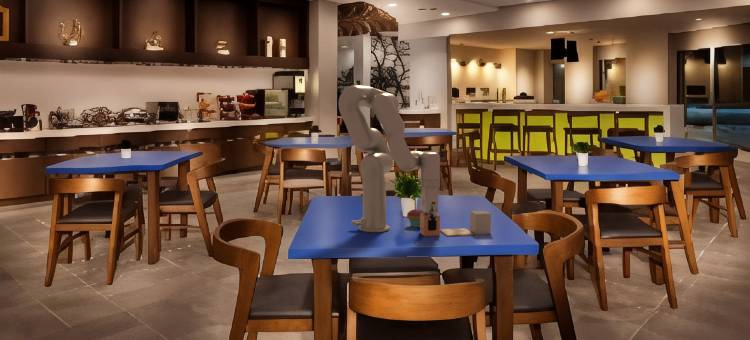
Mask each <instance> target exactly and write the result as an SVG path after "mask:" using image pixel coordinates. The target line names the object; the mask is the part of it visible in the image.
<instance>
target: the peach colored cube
mask: <svg viewBox="0 0 750 340" xmlns="http://www.w3.org/2000/svg"><path fill="white" fill-rule="evenodd" d="M431 215H432V214H431ZM436 216H437V217H436V218H437V221H436V230H430V231H429V230H428V220H429V214H428V213H420V227H419V234H421V235H422V236H424V237H435V236H441V232H440V229H441V215H440V214H438V213H437V215H436Z"/></svg>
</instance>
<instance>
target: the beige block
mask: <svg viewBox="0 0 750 340" xmlns="http://www.w3.org/2000/svg"><path fill="white" fill-rule="evenodd" d="M491 220H492V213H491V212H490V211H489V212H488V211H486V210H473V211H469V231H470V232H472V233H474V235H485V234H491V231H492V226H491V225H492V221H491Z"/></svg>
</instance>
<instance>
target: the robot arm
mask: <svg viewBox="0 0 750 340" xmlns="http://www.w3.org/2000/svg"><path fill="white" fill-rule="evenodd" d="M399 103H400V102H399V100H398V98H397V97H396V96H395V95H394V94H393V93H389V92H386V91H384V90H380V89H377V88H374V87H371V86H369V85H360V84H359V85H358V84H357V85H356V84H354V85H349V86H347V87H345V89H343V91H342V92H341V93H340V95H339V98H338V110H339V113H340V116H341V118H342V120H343V122H344V124H345V126H346V129H347V132H348V134H349V136H350V139H351V141H352V143H353V146H354V148H355V149H356V150H357V151H359V152H362V153H365V152H366V153H367V154H366V155H365V156H364V157H363V158H362V160H361V161H360V174H361V179H362V181H361V182H362V217H361V219H358V220H351V226H358V229H359V230H360V232H361V231H362V232H365V233H381V232H383V233H384V232H387V231H390V225H388V224H387V185H386V183H387V182H386V177H385V174H388V173H389V172H390V171H391V170H392V169H393V167H394V162H395V164H396V166H397V167H398V168H399V169H400V170H401V171H403V172H411V171H416V170H420V188H421V192H420V210H422V211H423V212H424V213H428V214H429V220H428V230H429V231H430V230H436V221H437V218H436V217H437V216H436V215H437V214H438V212H439V191H438V190H439V188H440V183H441V172H440V171H441V155H440V154H439V152H434V151H427V152H424V151H418V150H411V149H409V147H408V144H407V142H406V139H405V128H406V124H405V122H404V119H402V117H401V115H400V113H399V111H398V109H399ZM360 107H366V108H370V109H372V110H373V112H374V114H375V117H376V118H377V120H378V121H379V123H380V126H381V128H382V130H383V131H384V133H385V136H386V140H385V137H384V136H383V134H382V132H380V130H378V129H377V128H373V127H370V126H369V123H368V122H367V120H366V116H365V115H364V113H362V111H361V109H360ZM431 214H432V215H431Z"/></svg>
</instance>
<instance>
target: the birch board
mask: <svg viewBox="0 0 750 340" xmlns="http://www.w3.org/2000/svg"><path fill="white" fill-rule="evenodd" d="M440 233H442V234H443V235H444V236H446V237H461V236H462V237H463V236H464V237H465V236H466V237H467V236H475V234H474V233H473V232H471V231H470V229H467V227H466V228H463V227H462V228H461V227H460V228H440Z"/></svg>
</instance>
